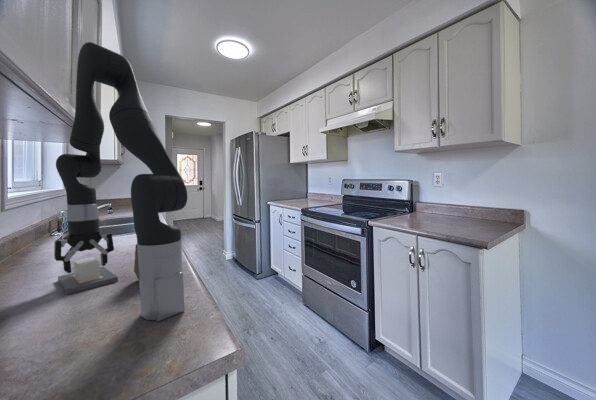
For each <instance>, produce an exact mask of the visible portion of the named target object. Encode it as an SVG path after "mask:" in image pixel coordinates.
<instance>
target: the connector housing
mask: <svg viewBox="0 0 596 400" xmlns="http://www.w3.org/2000/svg"><path fill="white" fill-rule="evenodd" d="M100 267H101V261H99V260H98V259H96V258H95V257H94V256H90V257H85V258H80V259H74V260H73V273H74V274H75V276H76V277H77V279H78V280H79V281H80V282H84V281H88V280H92V279H96V278H100V277H101V275H100Z"/></svg>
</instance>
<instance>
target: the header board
mask: <svg viewBox="0 0 596 400" xmlns="http://www.w3.org/2000/svg"><path fill="white" fill-rule="evenodd" d="M100 275H101V277H100V278H96V279H92V280H88V281H84V282H80V281H79V280H78V279H77V277H76V276H75V274H74V272H73V273H72V272H71V273H67V274H63V275H58V276H57V282H58V283H59V284H60V286H61V287H62V289H63V291H65V292H64V293H66V294H67V296H68V295H72V294H75V293H79V292H82V291H86V290H90V289H93V288H98V287H102V286H106V285H109V284H110V285H111V284H113V283H117V282H119V277H118V276H117V275H116V274H114V273H113V272H112V271H111V270H109V269H108V268H106V267H105V266H100Z"/></svg>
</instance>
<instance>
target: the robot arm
mask: <svg viewBox="0 0 596 400" xmlns="http://www.w3.org/2000/svg"><path fill="white" fill-rule="evenodd" d="M95 82H97V83H100V84H102V85H107V86H108V87H112V88H114V89H115V90H116V91H117V93H118V96H119V97H118V98H117V99H116V100H115V101H114V103H113V104H112V106H111V107H110V110H109V117H108V118H109V121H110V122H109V123H110V125H111V127H112V131H113V132H114V135H115V137H116V138H117V141H118V142H119V143H120V145H121V146H122V147H124V148H125V149H126V150H127V151H128V152H129V153H131V154H132V155H133V156H134V157H136V158H137V159H138V160H139V161H140V162H142V163H143V164H144V165H145V166H146V167H147V168H148V169H149V170H150V172H151V173H140V174H137V175H136V176H134V177H133V179H132V182H131V183H130V184H131V185H130V199H131V209H132V216H133V227H134V231H135V235H136V242H137V243H136V244H137V246H138V266H139V280H138V283H139V285H138V286H139V301H140V313H141V314H140V316H141V318H142V319H144V320H147V321H148V320H149V321H156V322H160V321H162V320H165V319H168V318H170V317H172V316H174V315H177V314H180V313H183V312H185V290H184V273H183V256H182V255H183V253H182V252H183V250H182V248H183V247H182V233H181V232H182V231H181V228H179V227H178V226H175V225H171V224H166V223H164V222H162V221H161V219H160V215H159V213H169V212H171V213H172V212H176V211H180V210H183V208H185V207H186V206H187V205H186V204H187V202H188V191H187V187H186V184H185V182H184V179H183V178H182V176H181V174H180V171H178V169H177V167H176V166H175V165H174V162H173V161H172V159H171V157H170V156H169V154H168V152H167V150H166V149H165V146H164V144H163V142H162V140H161V137H160V136H159V133H158V131H157V127H156V126H155V124H154V121H153V119H152V117H151V115H150V113H149V111H148V109H147V107H146V104H145V102H144V100H143V97H142V95H141V93H140V90H139V86H138V82H137V80H136V77H135V74H134V71H133V67H132V65H131V63H130V62H129V60H128V58H126V57H124V56H123V55H121V54H120V53H117V52H114V51H113V50H110V49H108V48H107V47H103V46H101V45H98V44H96V43H94V42H89V41H88V42H85V43H84V44H83V45H82V46H81V47H80V50H79V53H78V57H77V66H76V86H75V112H74V117H73V118H74V119H73V124H72V128H71V133H70V138H69V145H70V146H71V147H72V148H73V149H74V150H75V149H76V150H78V151H80V152H84V153H86V154H85V155H84V154H73V153H72V154H71V153H63V154H61V155H59V156H58V157H57V159H56V161H55V167H56V171H57V173H58V175H59V178H60V179H61V181H62V184H63V187H64V189H65V192H66V193H65V194H66V203H67V204H66V207H67V208H66V221H67V235H68V237H67V239H61V240H60V239H55V240H54V248H53V249H54V250H53V251H54V253H53V255H54V260H55V261H57V262H60V261H61V262H62V263H63V265H62V267H63V270H64V272H65V273H67V274H72V266H71V259H72V258H73V256H75V255H76V254H77V252H84V251H88V250H89V251H90V250H94V249H96V250H97V251H99V252H100V266H101V267H105V266H106V264H108V263H109V261H108V260H109V259H108V253H110V252H113V251H114V250H115V247H114V240H113V234H112V233H108V232H106V233H104V234H101V233H100V219H99V218H100V217H99V209H98V203H97V202H98V201H97V192H96V190H97V189H96V188H95V187H94V186H93V185H89V184H83V183H80V182H79V180H78V178H84V179H85V178H89V179H91V178H95V177H97V176H99V174H100V173H101V171H102V162H101V145H102V144H101V143H102V140H103V137H104V133H105V121H104V119H103V116H102V113H101V111H100V110H99V107H98V105H97V102H96V100H95V96H94V86H95V85H94V84H95ZM102 239H103V240H104V241H105V243H106V247H107V248H104V247H103V246H102V245H100V244H99V243H100V242H101V241H102ZM66 244H68V245H69V247H70V248H69V249H68V250H67V252H66V253H65V254H64V255H62V248H64V247H65V245H66Z"/></svg>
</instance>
